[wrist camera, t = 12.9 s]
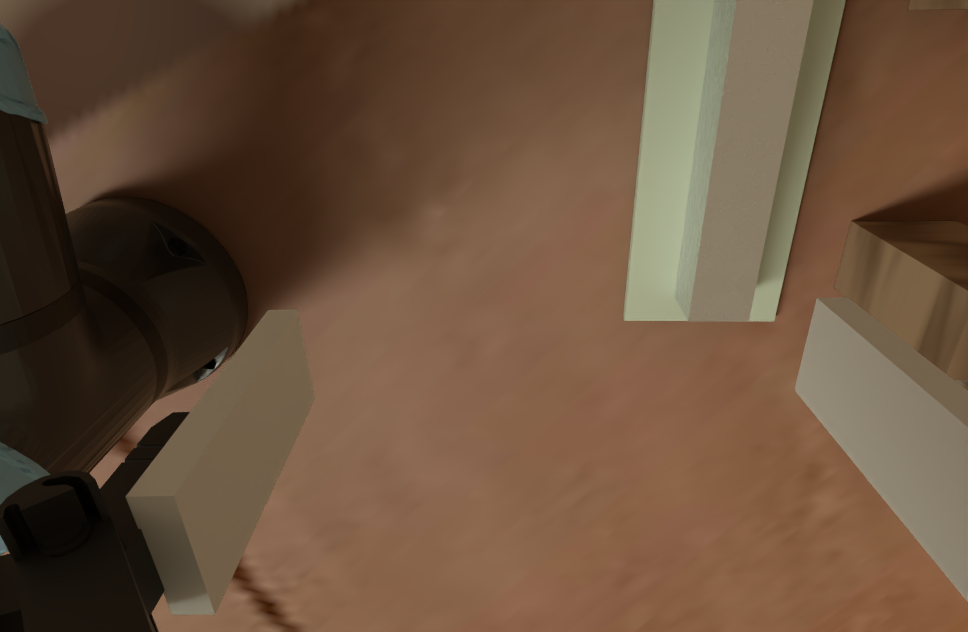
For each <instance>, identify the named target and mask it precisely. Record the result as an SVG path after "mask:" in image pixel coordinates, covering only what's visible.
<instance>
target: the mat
mask: <svg viewBox="0 0 968 632" xmlns="http://www.w3.org/2000/svg"><path fill="white" fill-rule="evenodd" d="M845 1H846V0H814V1H813V6H812V11H811V16H810V21H809V26H808V31H807V36H806V41H805V46H804V51H803V55H802V60H801V65H800V70H799V75H798V80H797V85H796V90H795V95H794V100H793V105H792V110H791V115H790V120H789V125H788V130H787V135H786V140H785V145H784V150H783V155H782V160H781V165H780V170H779V175H778V179H777V184H776V189H775V194H774V199H773V204H772V209H771V214H770V219H769V224H768V229H767V234H766V239H765V244H764V249H763V254H762V259H761V264H760V269H759V274H758V279H757V284H756V289H755V294H754V298H753V303H752V308H751V313H750V318H749V321H774V320H775V315H776V311H777V306H778V302H779V298H780V293H781V289H782V284H783V280H784V275H785V271H786V266H787V262H788V257H789V253H790V248H791V244H792V239H793V235H794V230H795V226H796V221H797V217H798V212H799V208H800V203H801V199H802V194H803V190H804V185H805V181H806V176H807V172H808V167H809V163H810V158H811V154H812V149H813V145H814V140H815V136H816V132H817V127H818V123H819V118H820V114H821V109H822V105H823V100H824V96H825V91H826V87H827V82H828V78H829V73H830V69H831V64H832V60H833V55H834V51H835V46H836V42H837V37H838V33H839V28H840V24H841V19H842V15H843V10H844V6H845ZM713 7H714V0H654V2H653V12H652V23H651V33H650V43H649V54H648V64H647V75H646V85H645V96H644V106H643V117H642V127H641V137H640V148H639V158H638V169H637V179H636V190H635V200H634V211H633V221H632V231H631V242H630V252H629V263H628V273H627V284H626V294H625V305H624V315H623V318H624V320H625V321H688V320H687V318H686V316H685V315H684V313H683V311H682V309H681V308H680V306H679V304H678V302H677V301H676V299H675V297H674V294H675V287H676V280H677V272H678V265H679V257H680V250H681V243H682V235H683V228H684V221H685V213H686V206H687V199H688V191H689V184H690V177H691V169H692V162H693V155H694V147H695V140H696V132H697V125H698V118H699V110H700V103H701V96H702V88H703V81H704V74H705V66H706V59H707V52H708V44H709V37H710V30H711V22H712V15H713Z"/></svg>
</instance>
